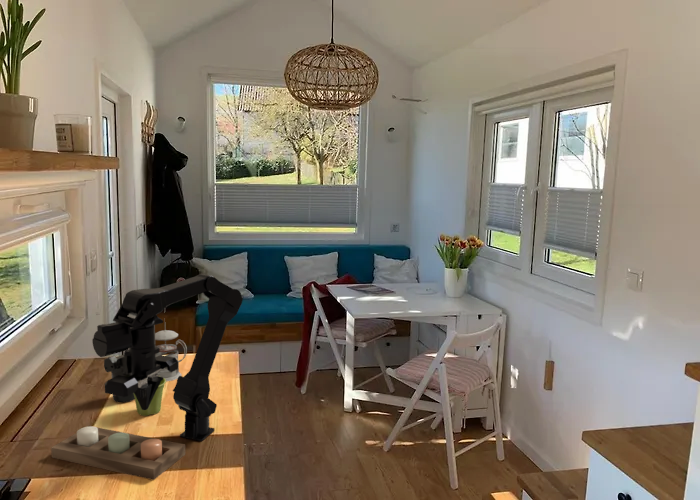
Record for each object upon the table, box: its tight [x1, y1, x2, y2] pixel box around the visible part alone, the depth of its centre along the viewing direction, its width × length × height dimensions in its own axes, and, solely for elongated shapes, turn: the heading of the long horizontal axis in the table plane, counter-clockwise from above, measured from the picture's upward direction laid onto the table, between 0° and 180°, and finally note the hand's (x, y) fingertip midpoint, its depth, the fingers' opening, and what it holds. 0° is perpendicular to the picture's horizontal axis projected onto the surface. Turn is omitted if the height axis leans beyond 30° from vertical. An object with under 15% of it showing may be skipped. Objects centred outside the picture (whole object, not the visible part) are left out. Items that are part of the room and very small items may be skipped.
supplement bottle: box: [111, 371, 135, 404], centre depth 165 cm, size 7×7×12 cm
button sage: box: [108, 431, 130, 454], centre depth 133 cm, size 5×5×4 cm
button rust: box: [141, 438, 162, 461], centre depth 130 cm, size 5×5×4 cm
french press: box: [155, 323, 188, 382], centre depth 183 cm, size 10×12×25 cm
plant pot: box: [134, 378, 167, 417], centre depth 157 cm, size 9×9×9 cm
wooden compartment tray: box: [50, 425, 186, 481], centre depth 133 cm, size 12×28×2 cm, turn 73°
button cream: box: [76, 425, 99, 447], centre depth 135 cm, size 5×5×4 cm
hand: (144, 409), depth 132 cm, fingers closed
